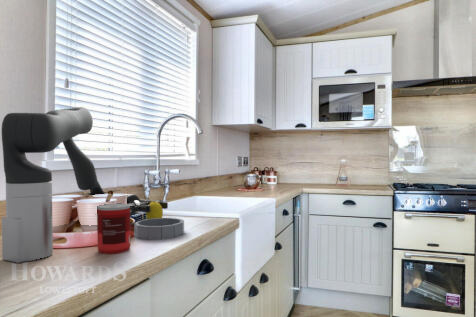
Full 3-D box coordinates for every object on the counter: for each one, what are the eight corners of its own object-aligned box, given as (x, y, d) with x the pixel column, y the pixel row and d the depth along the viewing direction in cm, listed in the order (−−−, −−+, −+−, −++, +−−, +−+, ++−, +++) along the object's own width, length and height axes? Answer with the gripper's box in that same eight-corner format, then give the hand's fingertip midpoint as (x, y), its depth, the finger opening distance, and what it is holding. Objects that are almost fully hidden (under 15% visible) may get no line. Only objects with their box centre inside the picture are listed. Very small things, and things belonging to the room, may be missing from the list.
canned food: (117, 244, 92) (117, 202, 92) (137, 248, 88) (136, 204, 88) (90, 251, 86) (90, 206, 86) (110, 256, 82) (109, 208, 82)
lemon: (158, 226, 115) (158, 202, 115) (143, 226, 117) (142, 202, 117) (165, 223, 121) (165, 200, 121) (150, 223, 122) (150, 199, 122)
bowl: (162, 241, 95) (162, 228, 95) (124, 236, 102) (124, 224, 102) (193, 231, 107) (192, 219, 107) (157, 227, 114) (157, 216, 114)
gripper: (107, 196, 119) (143, 198, 112) (138, 192, 132) (172, 193, 124) (107, 218, 119) (143, 222, 112) (138, 212, 132) (172, 215, 124)
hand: (158, 207), depth 118 cm, fingers open, 8 cm apart
